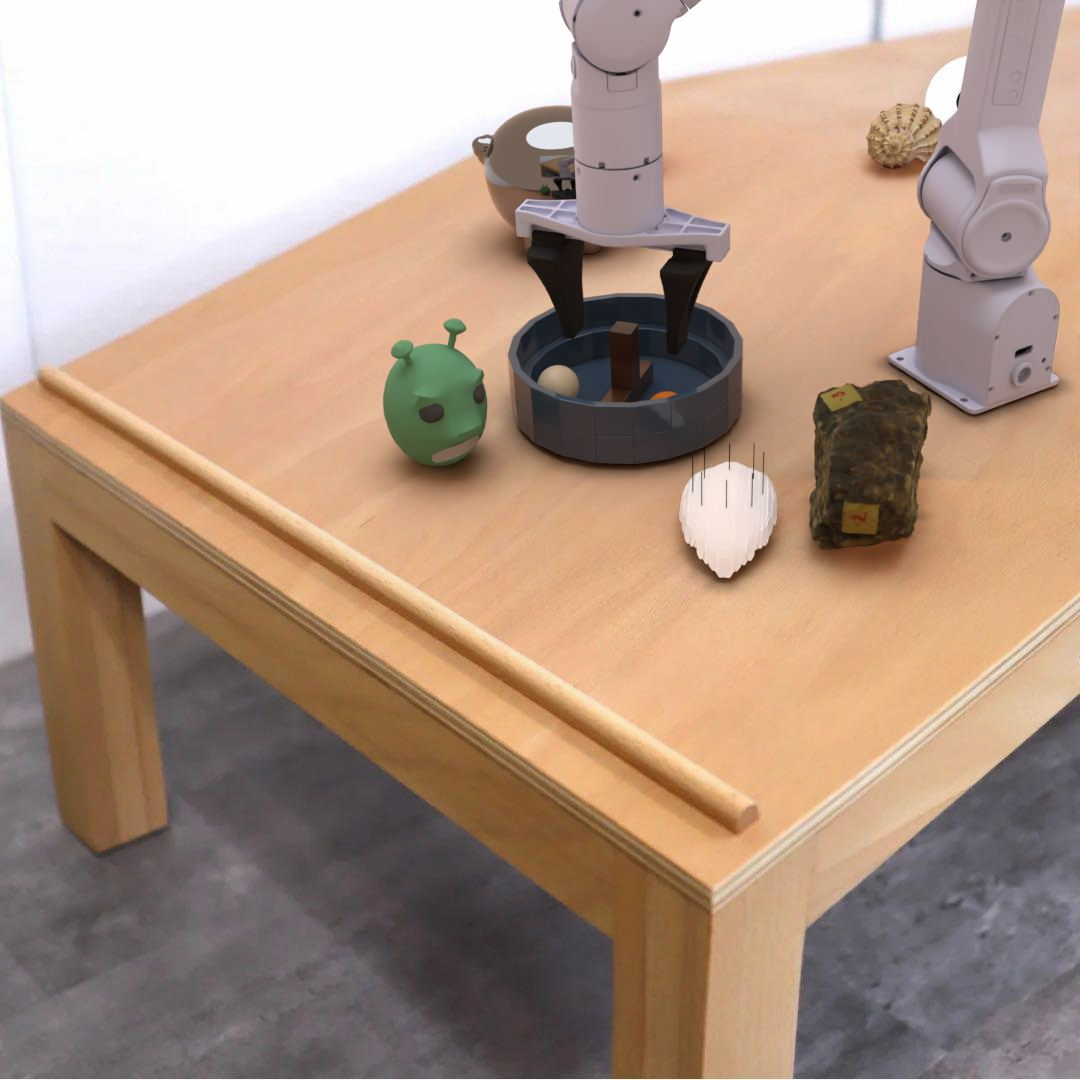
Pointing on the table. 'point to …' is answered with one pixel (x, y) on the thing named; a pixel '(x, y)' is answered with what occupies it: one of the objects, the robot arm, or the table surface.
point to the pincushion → (728, 514)
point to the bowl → (611, 427)
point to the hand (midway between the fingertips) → (624, 339)
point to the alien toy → (435, 400)
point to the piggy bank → (530, 161)
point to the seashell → (903, 135)
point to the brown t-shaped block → (627, 365)
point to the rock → (867, 463)
